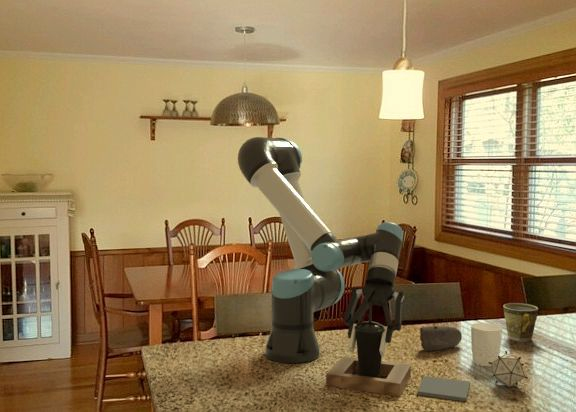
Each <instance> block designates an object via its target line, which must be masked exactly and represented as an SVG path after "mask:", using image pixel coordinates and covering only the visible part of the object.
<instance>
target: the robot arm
mask: <svg viewBox="0 0 576 412" xmlns="http://www.w3.org/2000/svg"><path fill="white" fill-rule="evenodd" d="M302 162H303V156H302V152H301V150H300V148H299V146H298V145H297V144H296V143H295V142H294V141H292V140H290V139H287V138H284V137H263V136H255V137H251V138H249V139H247V140H246V141H245V142H244V143H242V144H241V147H240V148H239V150H238V154H237V164H238V167H239V170H240V171H241V174H242V175H243V178H245V180H246V181H247V182H248V184H249V185H250V186H252V188H258V190H259V191H260V192H261V193H262V195H263V196H264V197H265V198H266V200H268V201H269V202H270V204H271V205H272V206H273V208H275V209H276V211H277V212H278V215H279V217H280V220H281V223H282V226H283V229H284V232H285V235H286V238H287V243H288V244H289V247H290V251H291V253H292V257H293V260H294V263H295V265H294V266H293V269H285V270H282V271H280V272H277V273H276V274H274V276H273V277H272V279H271V280H272V282H271V289H270V291H271V329H270V333H269V335H268V338H267V341H266V346H265V356H266V357H267V358H268V359H269V360H272V361H274V362H278V363H284V364H285V363H286V364H301V363H308V362H312V361H315V360H317V359H318V358H319V356H320V344H319V342H318V340H317V336H316V333H315V329H314V313H316V312H318V311H321V310H323V309H327V308H330V307H331V306H334V305H335V304H337V302H339V301H340V300H341V298H342V296H343V294H344V292H345V280H344V276H343V275H342V273H341V272H340V271H339V269H342V268H347V267H349V266H355V265H357V264H362V263H368V268H367V273H366V278H365V282H364V285H363V286H362V288H359V289H357V288H356V287H353V288H351V296H350V299H349V301H348V304H347V307H346V309H345V313H344V316H343V322H344V324H345V325H346V326H348V331H347V336H348V339H349V343H348V349H349V351H350V353H351V354H352V353H353V354H354V353H355V352H354V351H355V347H356V345H357V341H356V330H355V328H354V327H355V326H356V325H357V324H360V322H361V320H362V319H363V317H364V316H365V314H366V313H367V312H368V311H369V301H372V306H378V307H382V309H383V314H384V318H385V322H386V326H385V327H384V329H385V331H384V332H383V334H382V339H381V345H380V350H379V351H380V354H381V356H382V357H385V353H386V348H387V344H390V343H391V342H392V338H393V332H395V331H397V332H399V331H401V330H402V314H403V312H402V311H403V304H404V301H405V295H404V292H403V291H399V292H396V291H395V290H394V289H395V283H396V279H397V278H396V277H397V274H398V273H397V272H398V268H399V267H398V266H399V262H400V255H401V250H402V246H403V239H404V232H403V229H402V228H401V226H400V225H398V224H397V223H394V222H392V221H391V222H390V221H386V222H385V221H384V222H382V223H380V224H379V225H377V228H376V229H375V232H373V233H369V234H366V235H359V236H352V237H346V238H342V239H338V238H337V237H336V236H335V235H334V233H333V232H332V231H331V229H329V227H327V226H326V224H325V223H324V222H323V221H322V220H321V219H320V217H319V216H318V215H317V214H316V212H314V210H313V209H312V208H311V207H310V206H309V205H308V204H307V202H306V200H305V198H304V195H303V191H302V189H301V185H300V183H299V179H300V178H301V176H302V172H301V170H300V169H301V166H302V165H301V164H302ZM362 295H363V297H364V298H363V299H362V301H361V303H360V304H359V306H358V308H357V310H356V307H357V304H358V301H359V299H360V298H361V296H362ZM393 298H394V301H395V311H394V313H395V315H394V322H393V323H392V319H391V318H392V317H391V313H390V310H389V309H390V308H389V305H388V303H389V302H390V301H391V300H392V299H393ZM355 310H356V311H355Z"/></svg>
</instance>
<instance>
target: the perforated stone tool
mask: <svg viewBox="0 0 576 412" xmlns="http://www.w3.org/2000/svg"><path fill="white" fill-rule="evenodd" d="M462 337H463V335H462V332H461V331H460V330H459V329H457V328H455V327H451V326H447V325H445V326H444V325H437V326H424V327H420V328H419V340H420V342H421V348H422V349H423V350H424V352H437V351H442V350H448V349H452V348H454V347H456V346H458V345H459V344H460V343H461V341H462Z"/></svg>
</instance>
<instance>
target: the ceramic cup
mask: <svg viewBox="0 0 576 412" xmlns="http://www.w3.org/2000/svg"><path fill="white" fill-rule="evenodd" d="M502 309H503V314H504V320H505V327H506V334H507V337H508V339H510V341H515V342H520V343H521V342H522V343H528V342H530V341H532V340H533V337H534V336H533V335H534V330H535V327H536V321H537V318H538V314H539V313H538V312H539V308H538V307H537V306H536V305H533V304H529V303H522V302H521V303H519V302H513V303H512V302H510V303H509V302H508V303H505V304H503V308H502Z"/></svg>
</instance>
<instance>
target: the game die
mask: <svg viewBox="0 0 576 412" xmlns="http://www.w3.org/2000/svg"><path fill="white" fill-rule="evenodd" d="M521 359H522V356H518V357H515V356H513V355H511V354H509V353H508V351H507V350H505V352H504V354H502V355H501V356H500V355H499V356H498V359H497V360H495V361H494V362H492V363H491V362H488V363H489V364H491V365H492V367H491V369H492V373H493V374H491V378H495V379H496V380H495V381H494V384H498V383H500V384H501V385H504V386H505V387H508V390H509V391H511V390H512V388H511V387H513V386H514V385H518V383H519V382H520V381H522V380H523V379H526V380H528V379H529V377H528V376H526V375H525V371H524V369H523V366H524V365H525V363H523V362H521V361H520V360H521Z"/></svg>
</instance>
